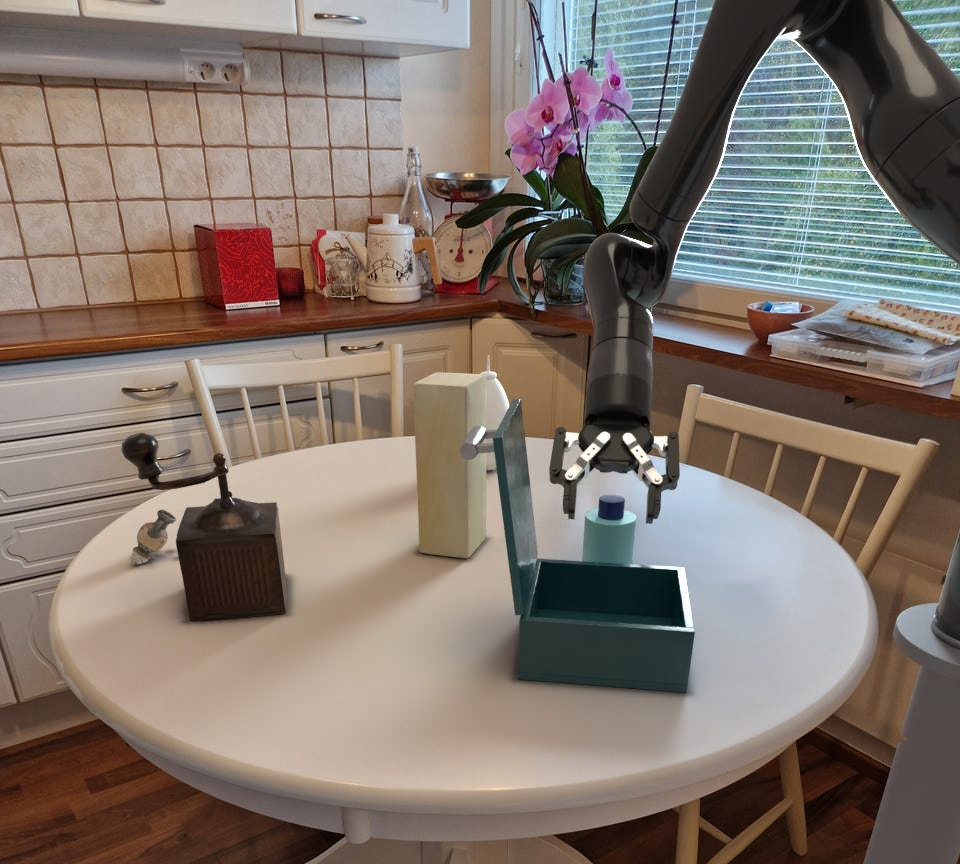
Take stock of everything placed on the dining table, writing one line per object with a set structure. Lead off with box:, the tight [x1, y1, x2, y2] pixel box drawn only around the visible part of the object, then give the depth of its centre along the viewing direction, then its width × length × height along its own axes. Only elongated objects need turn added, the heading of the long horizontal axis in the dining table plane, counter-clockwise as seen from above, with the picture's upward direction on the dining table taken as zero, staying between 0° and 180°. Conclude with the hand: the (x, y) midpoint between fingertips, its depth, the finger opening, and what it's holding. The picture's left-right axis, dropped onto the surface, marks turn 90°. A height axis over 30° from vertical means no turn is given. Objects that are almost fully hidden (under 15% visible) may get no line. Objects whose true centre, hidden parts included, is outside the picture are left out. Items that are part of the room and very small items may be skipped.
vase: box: [129, 509, 177, 565], centre depth 104 cm, size 5×5×6 cm
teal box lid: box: [460, 398, 539, 616], centre depth 80 cm, size 16×15×5 cm
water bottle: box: [581, 494, 637, 564], centre depth 95 cm, size 6×6×11 cm
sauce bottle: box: [479, 354, 510, 471], centre depth 135 cm, size 8×8×18 cm
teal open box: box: [517, 558, 696, 693], centre depth 84 cm, size 16×15×6 cm
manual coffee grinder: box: [120, 432, 288, 622], centre depth 91 cm, size 16×11×18 cm
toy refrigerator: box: [412, 371, 487, 559], centre depth 104 cm, size 8×7×21 cm
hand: (610, 518), depth 93 cm, fingers open, 8 cm apart
